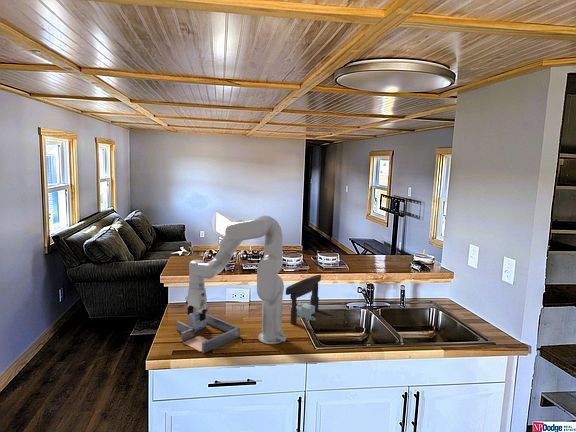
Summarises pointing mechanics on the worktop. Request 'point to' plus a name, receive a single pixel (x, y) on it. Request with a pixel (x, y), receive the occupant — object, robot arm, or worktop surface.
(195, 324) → the medicine box
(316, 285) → the stool
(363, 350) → the worktop surface
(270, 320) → the robot arm
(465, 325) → the worktop surface
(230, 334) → the bent rail channel
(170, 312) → the worktop surface
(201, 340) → the terracotta mat
